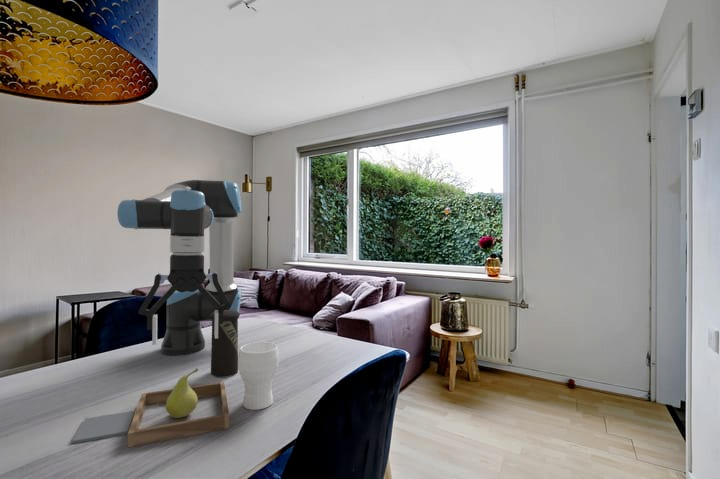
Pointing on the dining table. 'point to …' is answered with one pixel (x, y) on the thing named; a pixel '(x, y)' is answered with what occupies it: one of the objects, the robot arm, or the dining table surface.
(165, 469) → the dining table surface
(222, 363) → the container
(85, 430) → the slate coaster
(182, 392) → the fruit
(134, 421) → the walnut frame
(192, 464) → the dining table surface
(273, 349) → the cup
